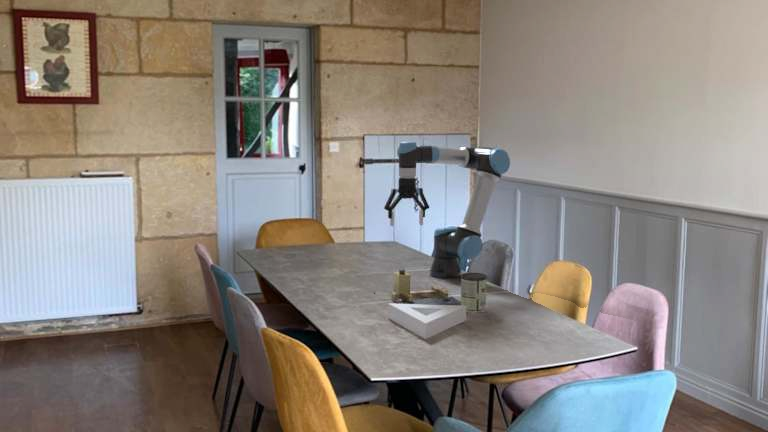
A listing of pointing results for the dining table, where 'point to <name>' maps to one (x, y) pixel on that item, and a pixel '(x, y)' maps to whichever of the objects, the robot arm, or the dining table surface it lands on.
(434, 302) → the bolt plate
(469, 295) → the coffee can
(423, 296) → the bar
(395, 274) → the block
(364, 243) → the dining table surface
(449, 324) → the triangle block
